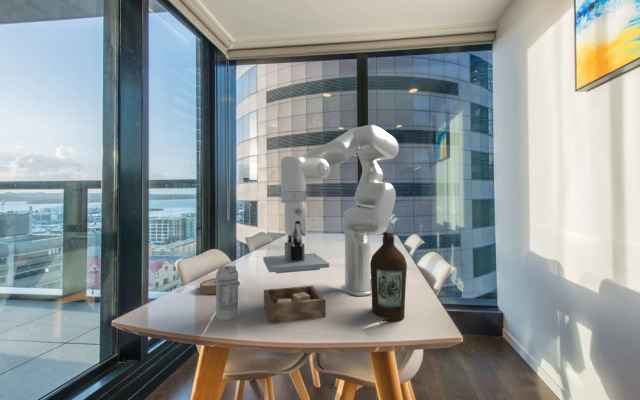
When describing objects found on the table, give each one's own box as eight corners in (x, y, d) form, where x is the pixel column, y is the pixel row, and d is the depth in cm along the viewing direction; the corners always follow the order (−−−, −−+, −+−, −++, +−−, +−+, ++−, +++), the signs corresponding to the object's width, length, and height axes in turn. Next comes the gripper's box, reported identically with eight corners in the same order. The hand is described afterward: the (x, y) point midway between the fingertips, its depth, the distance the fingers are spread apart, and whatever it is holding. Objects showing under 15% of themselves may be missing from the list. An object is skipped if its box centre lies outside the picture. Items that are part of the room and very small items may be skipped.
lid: (314, 259, 98) (314, 238, 98) (329, 270, 84) (329, 245, 84) (263, 263, 93) (263, 241, 93) (269, 276, 79) (269, 249, 79)
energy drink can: (237, 314, 88) (238, 264, 88) (237, 322, 82) (238, 269, 82) (216, 316, 86) (216, 265, 86) (215, 324, 81) (215, 270, 81)
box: (312, 303, 97) (312, 285, 97) (325, 320, 84) (325, 299, 84) (263, 308, 92) (263, 289, 92) (269, 327, 79) (269, 305, 79)
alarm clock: (207, 278, 118) (243, 272, 116) (209, 290, 118) (245, 285, 116) (192, 286, 106) (232, 280, 105) (195, 300, 106) (234, 294, 105)
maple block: (303, 304, 94) (303, 292, 94) (310, 308, 90) (310, 295, 90) (292, 306, 92) (292, 294, 92) (298, 311, 88) (298, 297, 88)
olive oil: (369, 307, 94) (370, 229, 93) (403, 309, 92) (404, 230, 92) (370, 321, 83) (371, 233, 83) (409, 324, 82) (409, 234, 81)
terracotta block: (291, 311, 88) (291, 298, 88) (291, 317, 84) (291, 303, 84) (277, 312, 87) (277, 299, 87) (277, 317, 83) (277, 303, 83)
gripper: (313, 197, 81) (314, 263, 81) (299, 197, 97) (300, 251, 98) (286, 198, 79) (287, 265, 79) (276, 197, 95) (277, 253, 95)
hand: (294, 257), depth 88 cm, fingers closed on lid, 5 cm apart
